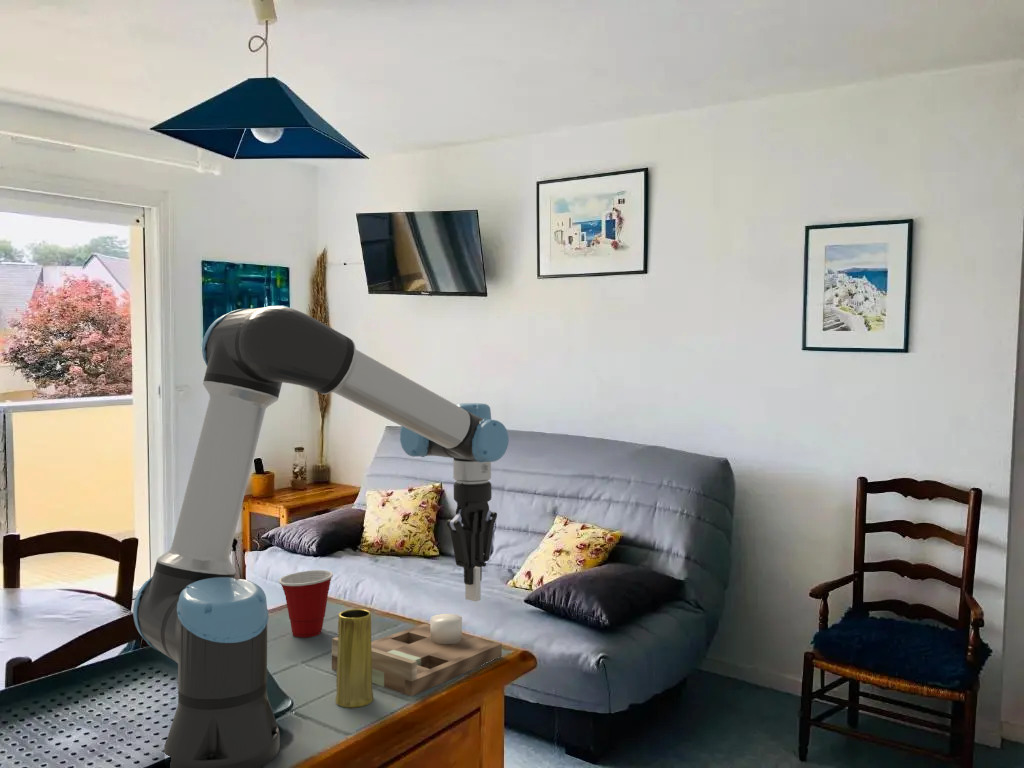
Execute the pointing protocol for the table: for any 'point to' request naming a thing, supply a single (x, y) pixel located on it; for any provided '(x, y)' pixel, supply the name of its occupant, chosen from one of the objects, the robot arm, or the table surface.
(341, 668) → the vase
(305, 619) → the plastic cup
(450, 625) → the white rounded block
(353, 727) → the table surface
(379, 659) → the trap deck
